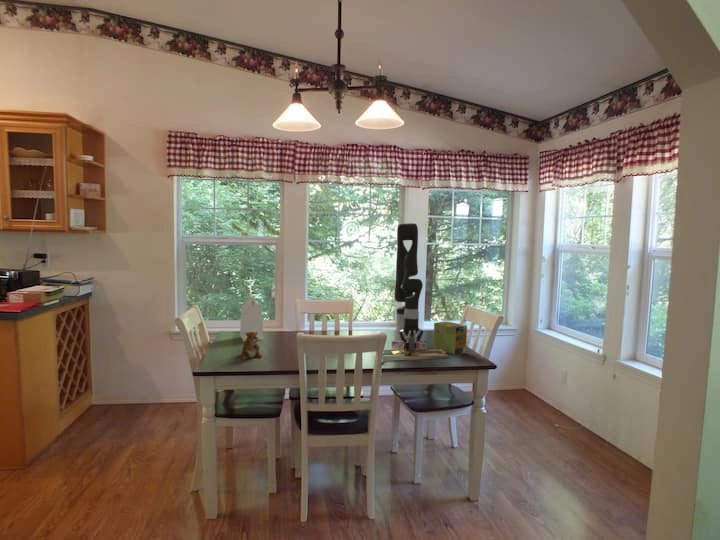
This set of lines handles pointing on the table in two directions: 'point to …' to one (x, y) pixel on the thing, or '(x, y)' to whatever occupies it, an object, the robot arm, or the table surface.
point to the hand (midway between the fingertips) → (410, 349)
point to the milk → (251, 319)
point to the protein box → (450, 337)
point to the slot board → (427, 354)
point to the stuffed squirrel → (251, 346)
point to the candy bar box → (401, 346)
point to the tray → (391, 357)
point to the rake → (411, 345)
